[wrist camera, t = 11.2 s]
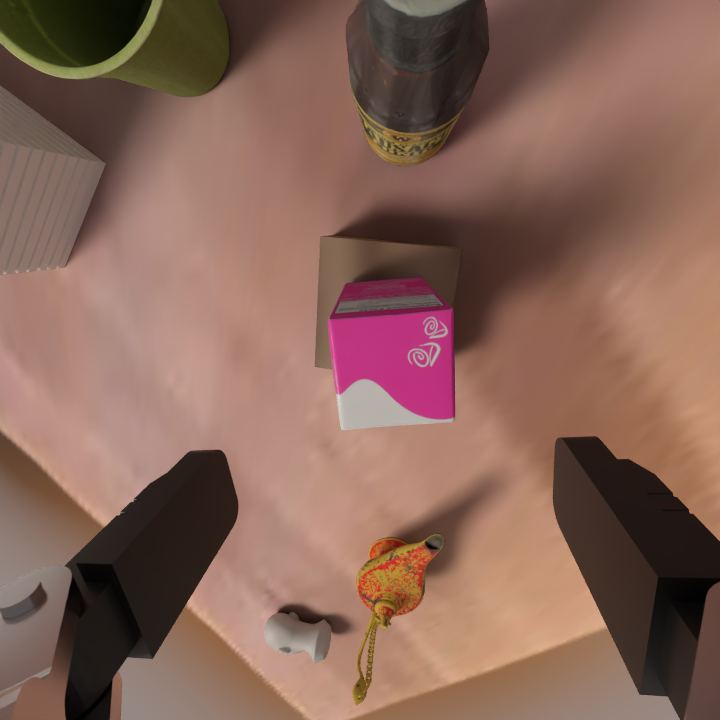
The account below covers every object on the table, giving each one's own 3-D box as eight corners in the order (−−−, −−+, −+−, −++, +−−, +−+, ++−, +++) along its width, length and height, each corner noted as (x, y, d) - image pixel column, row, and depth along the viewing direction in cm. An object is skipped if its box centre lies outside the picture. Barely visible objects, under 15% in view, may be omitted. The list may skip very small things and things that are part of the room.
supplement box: (428, 351, 29) (456, 428, 18) (350, 356, 29) (333, 434, 18) (425, 274, 27) (455, 308, 16) (342, 281, 27) (318, 318, 17)
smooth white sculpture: (272, 615, 49) (272, 599, 46) (332, 632, 48) (336, 617, 45) (259, 655, 46) (257, 641, 43) (323, 674, 45) (326, 661, 42)
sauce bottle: (359, 162, 29) (271, 47, 11) (374, 66, 27) (296, -288, 9) (443, 177, 29) (502, 84, 10) (465, 81, 27) (590, -256, 8)
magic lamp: (466, 497, 38) (487, 598, 28) (392, 609, 44) (387, 725, 34) (404, 470, 38) (401, 561, 28) (338, 586, 44) (317, 696, 34)
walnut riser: (454, 246, 31) (462, 249, 26) (436, 361, 34) (440, 382, 29) (333, 235, 32) (320, 236, 27) (327, 348, 35) (314, 366, 30)
